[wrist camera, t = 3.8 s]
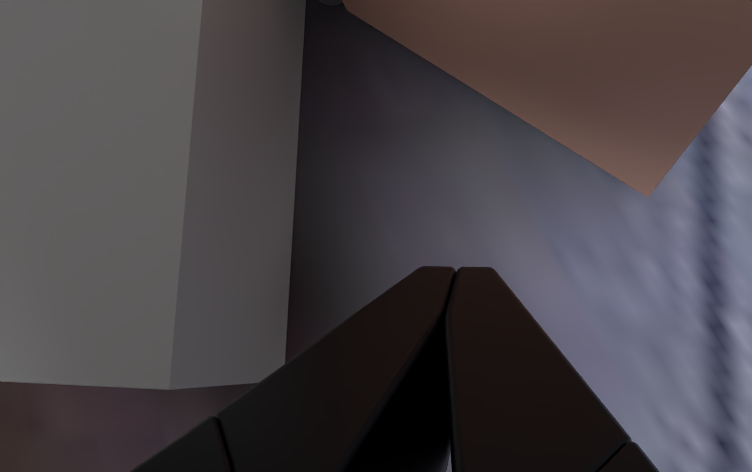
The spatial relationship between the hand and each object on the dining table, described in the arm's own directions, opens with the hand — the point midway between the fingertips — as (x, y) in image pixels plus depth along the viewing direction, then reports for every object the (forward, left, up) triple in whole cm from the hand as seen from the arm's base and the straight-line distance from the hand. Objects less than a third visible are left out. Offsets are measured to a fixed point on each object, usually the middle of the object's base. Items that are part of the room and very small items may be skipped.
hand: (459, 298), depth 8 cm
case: (0, +10, -11) cm, 15 cm away
